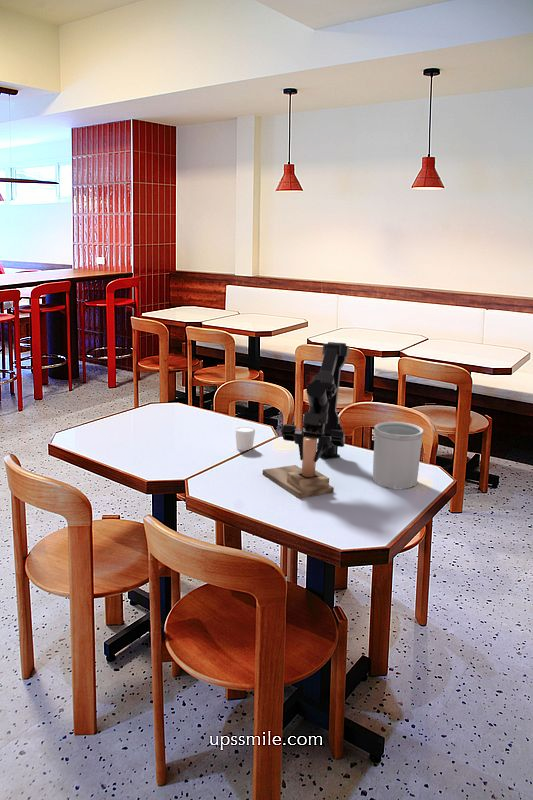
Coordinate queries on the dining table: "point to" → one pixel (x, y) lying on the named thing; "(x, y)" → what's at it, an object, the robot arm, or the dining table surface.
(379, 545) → the dining table surface
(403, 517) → the dining table surface
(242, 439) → the white cup
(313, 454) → the plug
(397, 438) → the utensil holder
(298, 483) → the wooden socket base
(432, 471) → the dining table surface
